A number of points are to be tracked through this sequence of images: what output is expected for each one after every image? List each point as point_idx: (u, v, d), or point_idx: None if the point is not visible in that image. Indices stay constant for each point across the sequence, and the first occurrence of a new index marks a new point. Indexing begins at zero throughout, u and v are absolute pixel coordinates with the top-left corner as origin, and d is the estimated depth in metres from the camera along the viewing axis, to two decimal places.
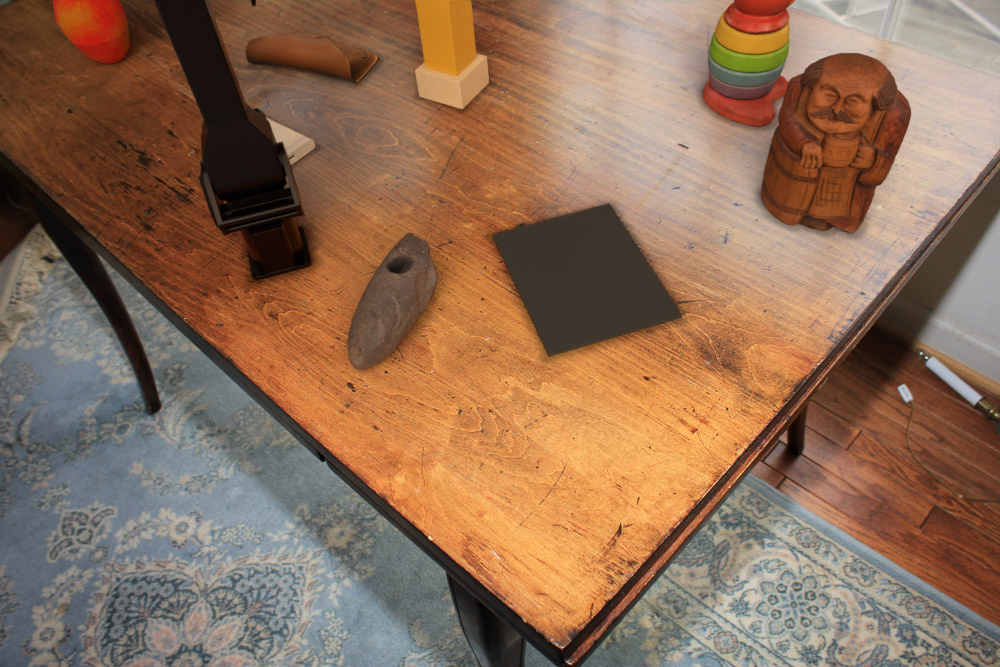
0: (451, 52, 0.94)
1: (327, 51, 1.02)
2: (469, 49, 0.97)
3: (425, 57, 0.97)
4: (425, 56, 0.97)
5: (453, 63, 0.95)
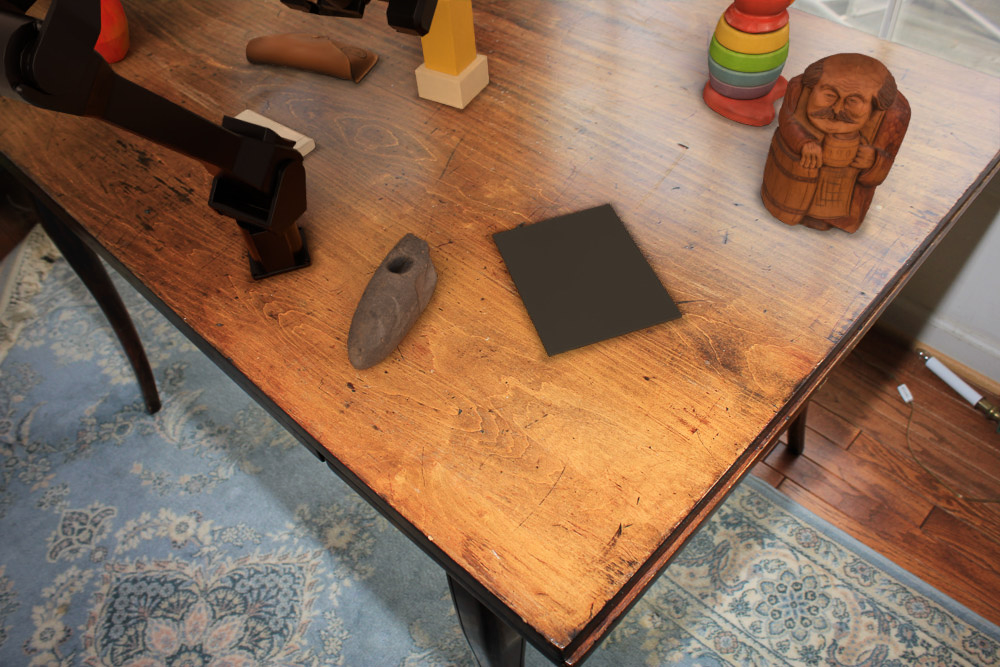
0: (451, 52, 0.94)
1: (327, 51, 1.02)
2: (469, 49, 0.97)
3: (425, 57, 0.97)
4: (425, 56, 0.97)
5: (453, 63, 0.95)
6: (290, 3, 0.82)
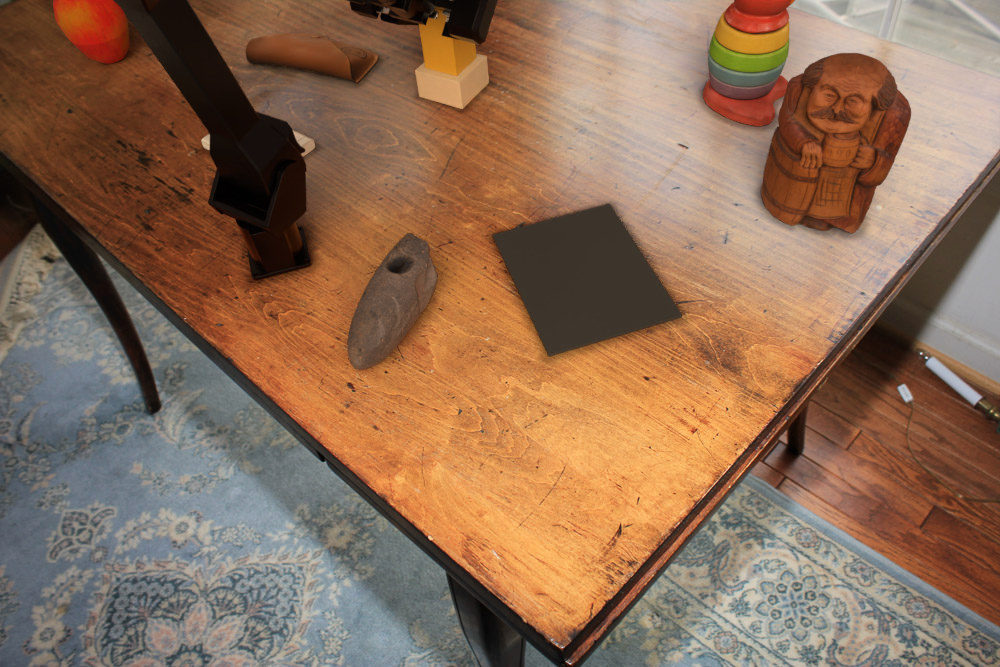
0: (451, 52, 0.94)
1: (327, 51, 1.02)
2: (469, 49, 0.97)
3: (425, 57, 0.97)
4: (425, 56, 0.97)
5: (453, 63, 0.95)
6: (360, 11, 0.90)
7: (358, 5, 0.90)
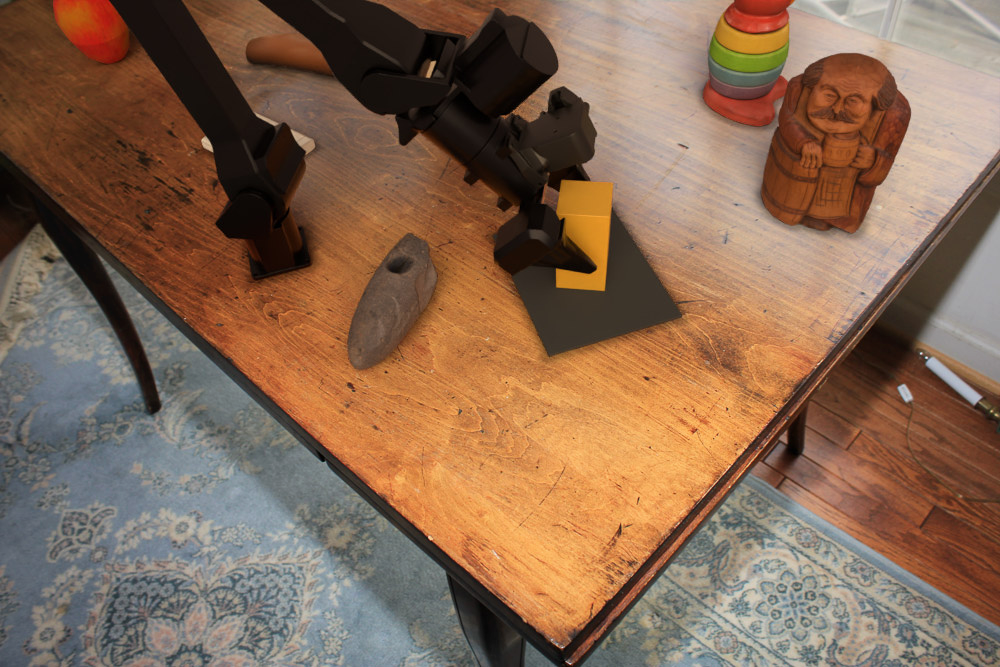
0: None
1: None
2: (590, 277, 0.74)
3: None
4: None
5: (556, 273, 0.75)
6: None
7: None
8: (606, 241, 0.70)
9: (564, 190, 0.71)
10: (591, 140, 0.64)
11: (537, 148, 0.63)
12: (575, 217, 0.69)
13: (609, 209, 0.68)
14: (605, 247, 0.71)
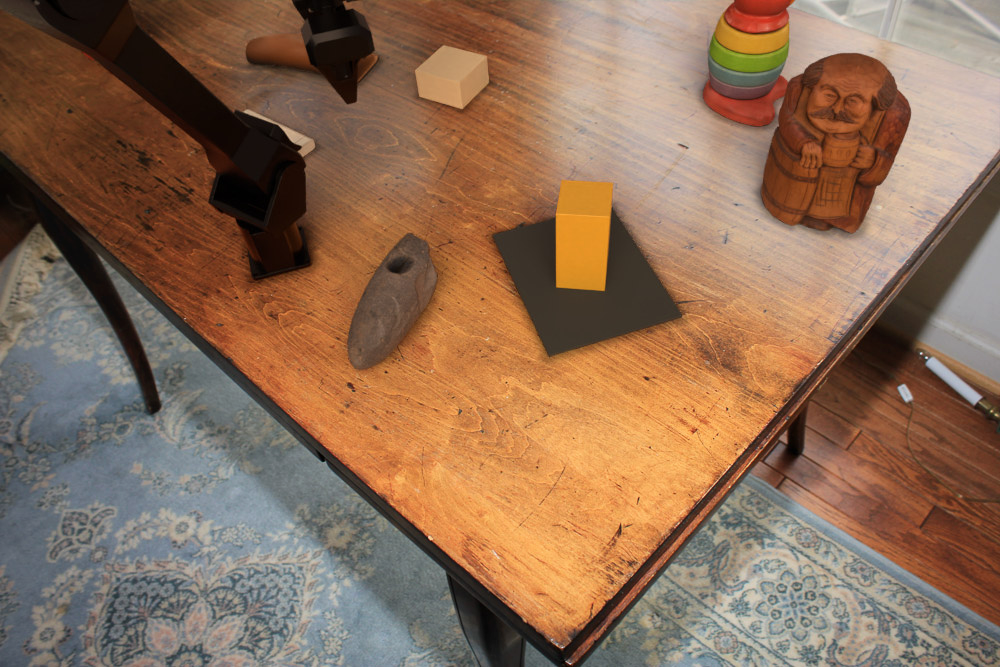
0: (556, 261, 0.74)
1: None
2: (590, 277, 0.74)
3: None
4: None
5: (556, 273, 0.75)
6: None
7: None
8: (606, 241, 0.70)
9: (564, 190, 0.71)
10: None
11: None
12: (575, 217, 0.69)
13: (609, 209, 0.68)
14: (605, 247, 0.71)
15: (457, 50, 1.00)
